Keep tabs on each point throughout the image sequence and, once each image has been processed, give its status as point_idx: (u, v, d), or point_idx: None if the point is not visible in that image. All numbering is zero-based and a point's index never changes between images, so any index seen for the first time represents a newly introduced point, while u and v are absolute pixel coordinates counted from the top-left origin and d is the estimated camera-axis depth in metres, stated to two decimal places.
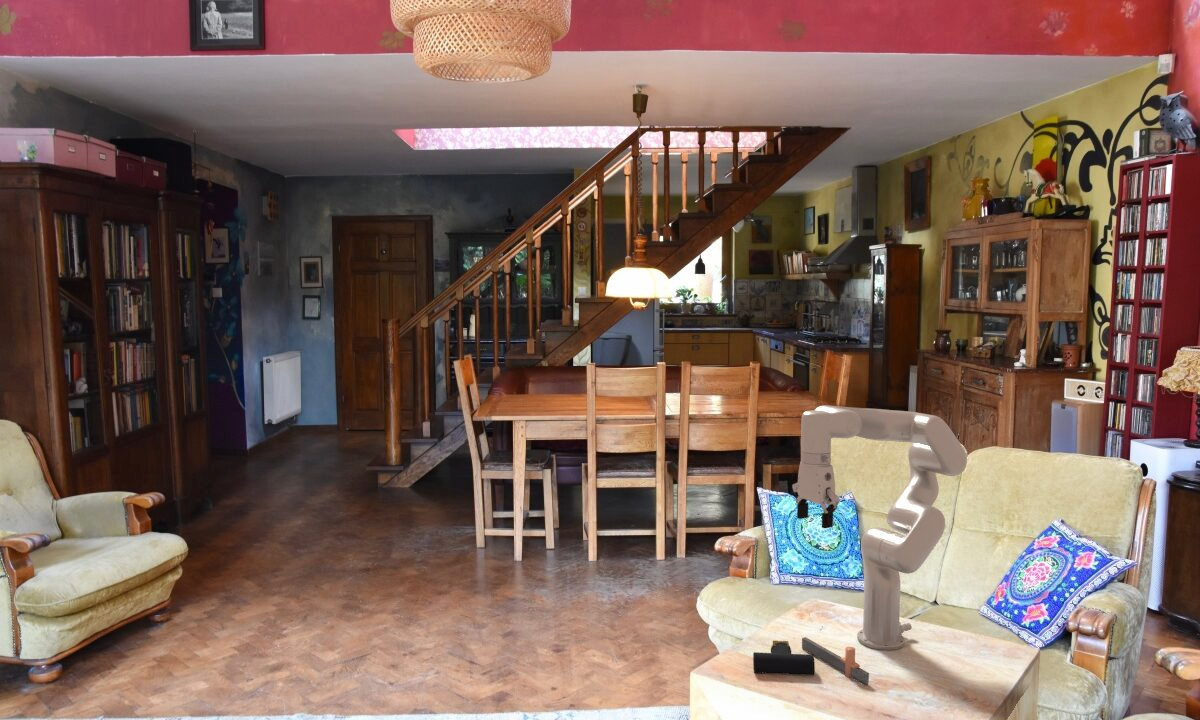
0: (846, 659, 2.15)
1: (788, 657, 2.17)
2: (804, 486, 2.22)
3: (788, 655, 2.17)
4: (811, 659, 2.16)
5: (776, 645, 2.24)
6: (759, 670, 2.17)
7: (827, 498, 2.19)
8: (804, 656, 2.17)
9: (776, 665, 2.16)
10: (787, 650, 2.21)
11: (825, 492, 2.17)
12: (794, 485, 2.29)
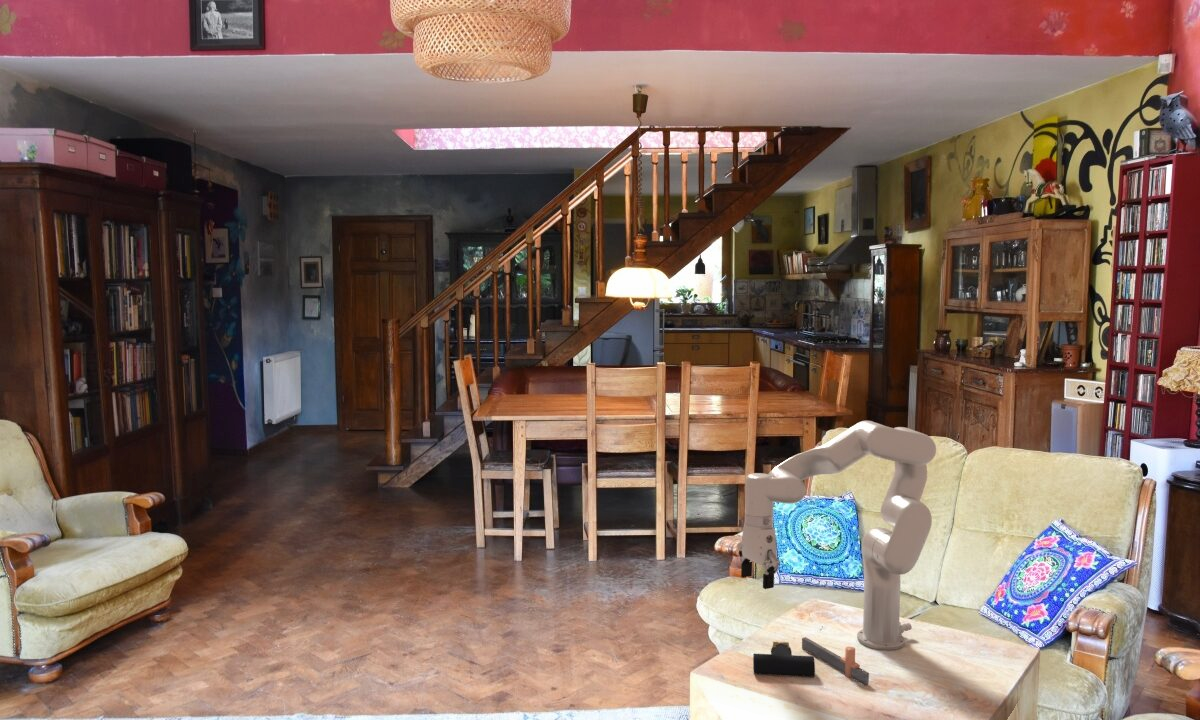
0: (846, 659, 2.15)
1: (788, 659, 2.16)
2: (747, 547, 2.29)
3: (788, 656, 2.17)
4: (811, 661, 2.15)
5: (776, 646, 2.23)
6: (759, 672, 2.16)
7: (769, 559, 2.26)
8: (804, 658, 2.16)
9: (776, 666, 2.15)
10: (787, 651, 2.20)
11: (766, 554, 2.24)
12: (739, 544, 2.35)
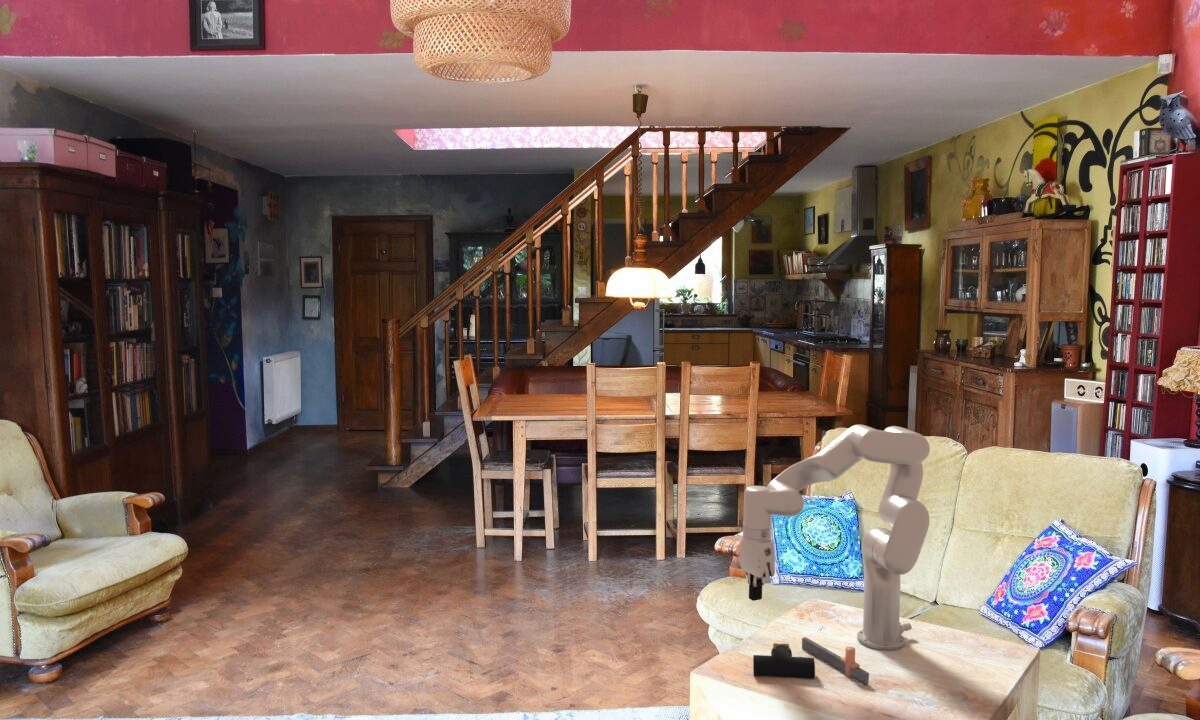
0: (846, 659, 2.15)
1: (788, 660, 2.15)
2: (745, 559, 2.30)
3: (788, 658, 2.16)
4: (811, 662, 2.14)
5: (776, 648, 2.22)
6: (759, 673, 2.15)
7: None
8: (804, 659, 2.15)
9: (776, 668, 2.14)
10: (787, 653, 2.19)
11: (763, 575, 2.25)
12: None
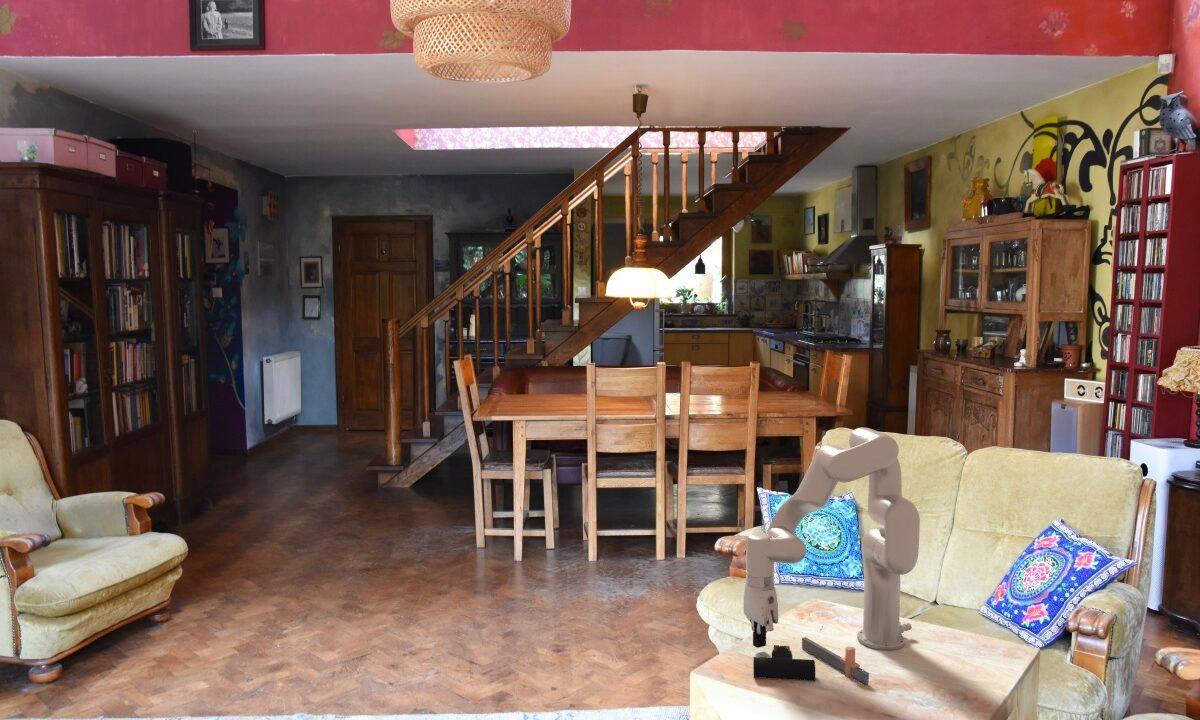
0: (846, 659, 2.15)
1: (788, 662, 2.14)
2: (749, 607, 2.30)
3: (788, 660, 2.14)
4: (812, 664, 2.13)
5: (777, 650, 2.21)
6: (759, 675, 2.14)
7: None
8: (805, 661, 2.14)
9: (776, 670, 2.13)
10: (788, 655, 2.18)
11: (766, 623, 2.25)
12: None
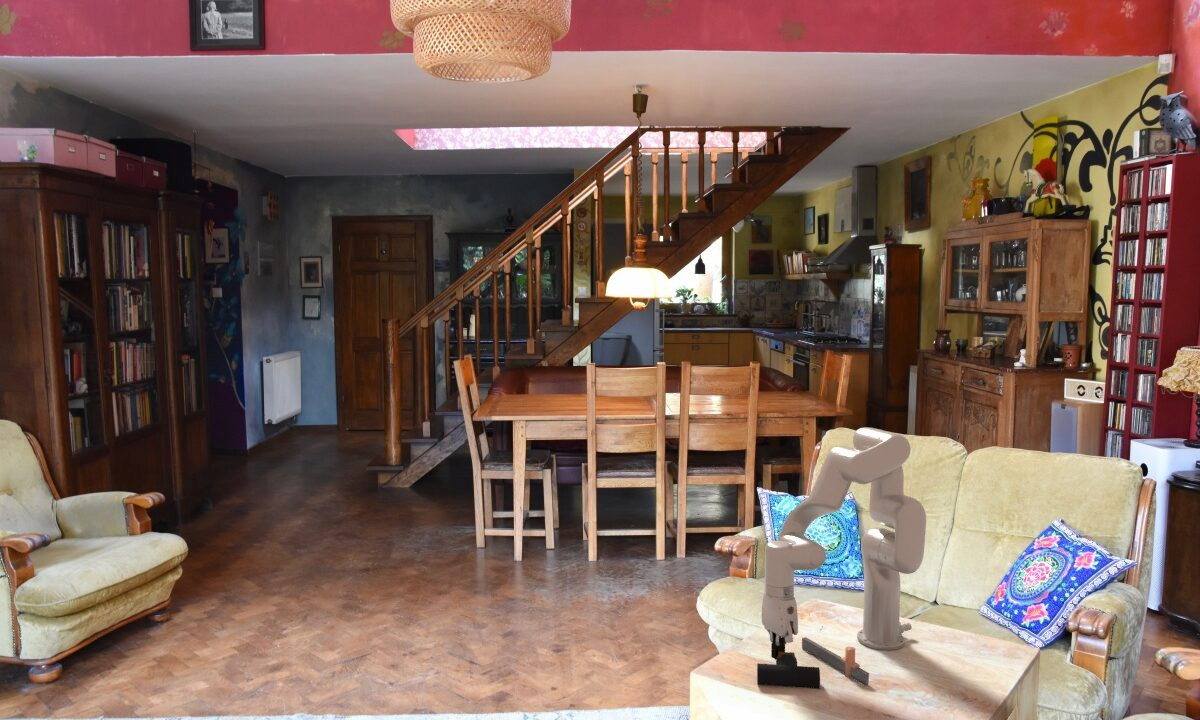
0: (846, 659, 2.15)
1: (793, 669, 2.10)
2: (767, 617, 2.22)
3: (793, 667, 2.11)
4: (816, 672, 2.09)
5: (781, 656, 2.17)
6: (763, 682, 2.10)
7: None
8: (809, 669, 2.10)
9: (780, 677, 2.09)
10: (792, 662, 2.14)
11: (786, 634, 2.18)
12: None
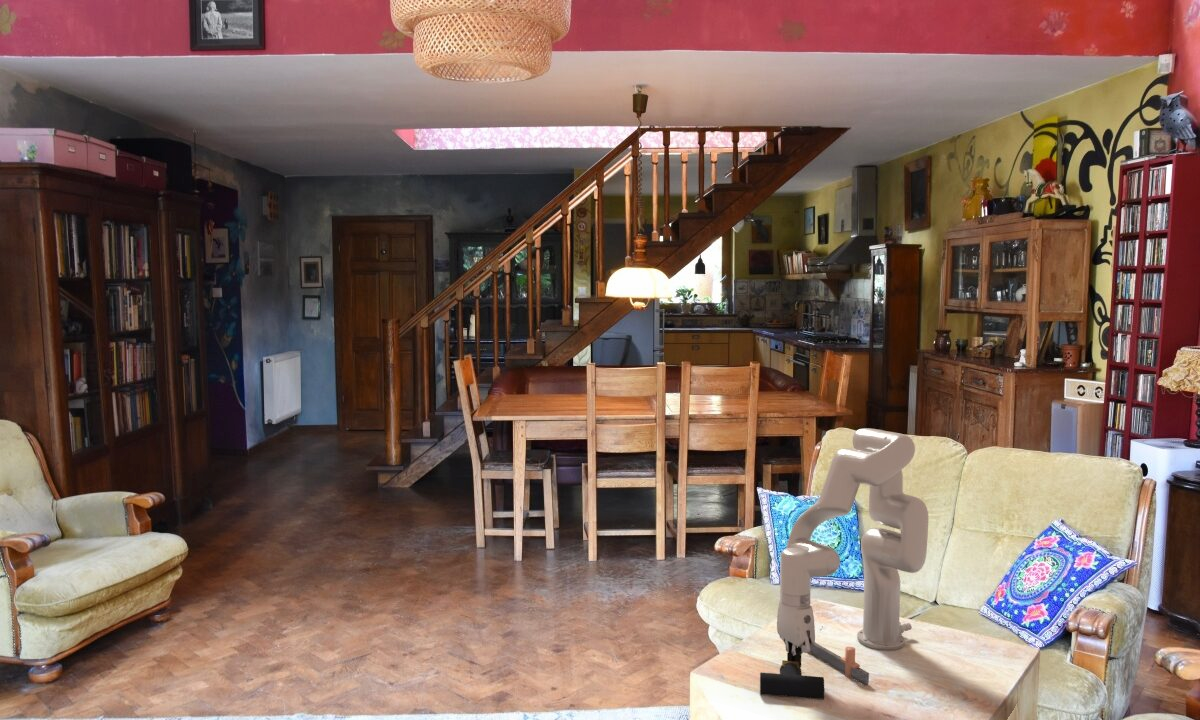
0: (846, 659, 2.15)
1: (796, 679, 2.05)
2: (783, 626, 2.16)
3: (796, 676, 2.05)
4: (821, 682, 2.04)
5: (785, 665, 2.12)
6: (766, 692, 2.05)
7: None
8: (813, 678, 2.05)
9: (783, 687, 2.04)
10: (796, 671, 2.09)
11: (802, 644, 2.12)
12: None
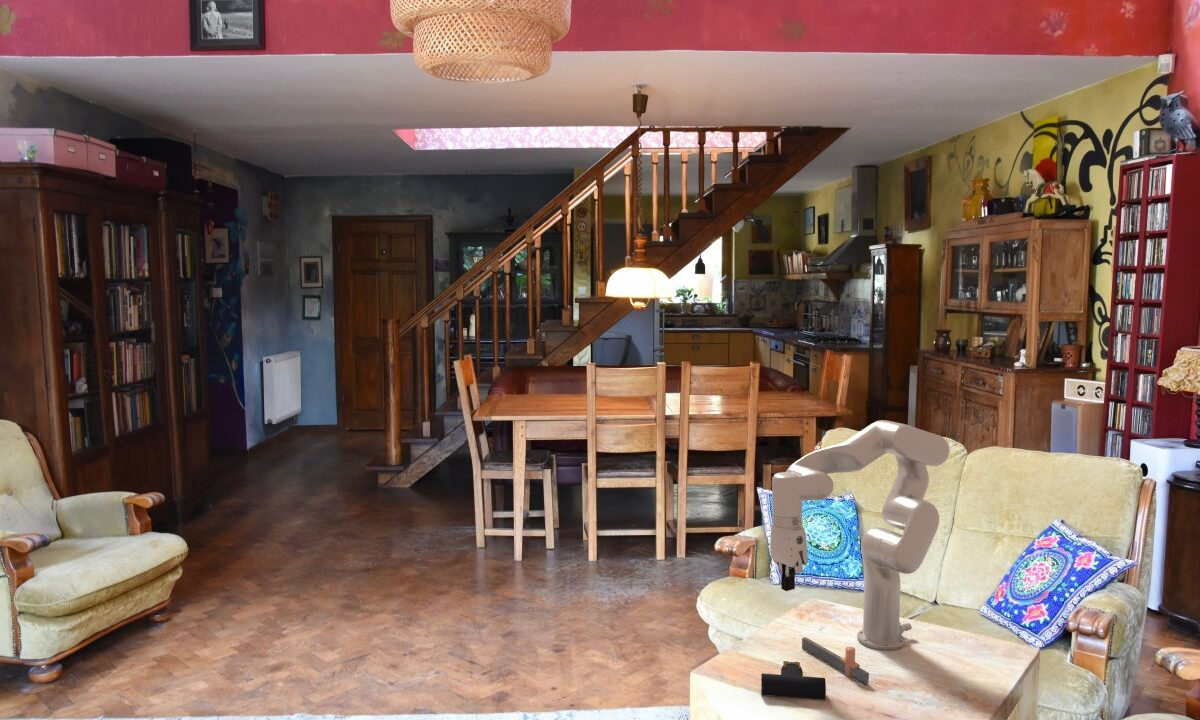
0: (846, 659, 2.15)
1: (798, 680, 2.04)
2: (776, 549, 2.21)
3: (798, 677, 2.05)
4: (822, 683, 2.03)
5: (786, 666, 2.11)
6: (767, 693, 2.05)
7: None
8: (815, 679, 2.04)
9: (785, 688, 2.04)
10: (797, 672, 2.08)
11: (796, 564, 2.17)
12: None
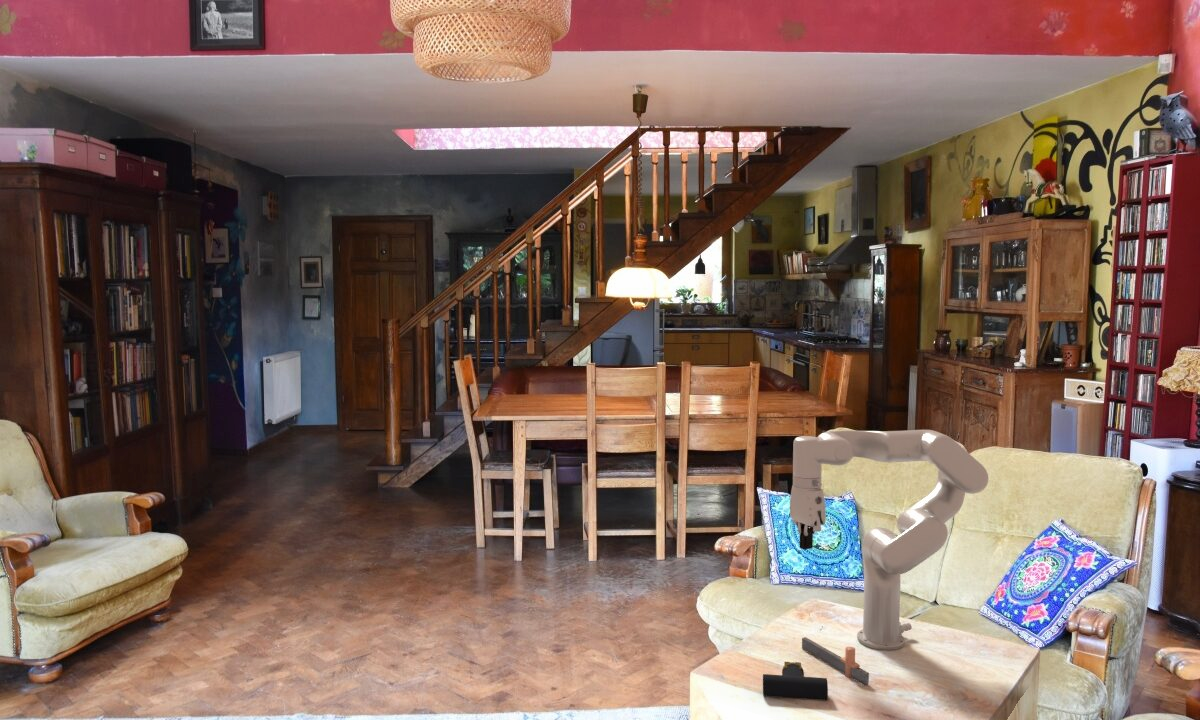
0: (846, 659, 2.15)
1: (799, 680, 2.04)
2: (796, 509, 2.32)
3: (799, 678, 2.05)
4: (824, 683, 2.03)
5: (788, 667, 2.11)
6: (769, 694, 2.04)
7: None
8: (817, 679, 2.04)
9: (786, 688, 2.03)
10: (799, 672, 2.08)
11: (814, 523, 2.27)
12: (793, 518, 2.36)
